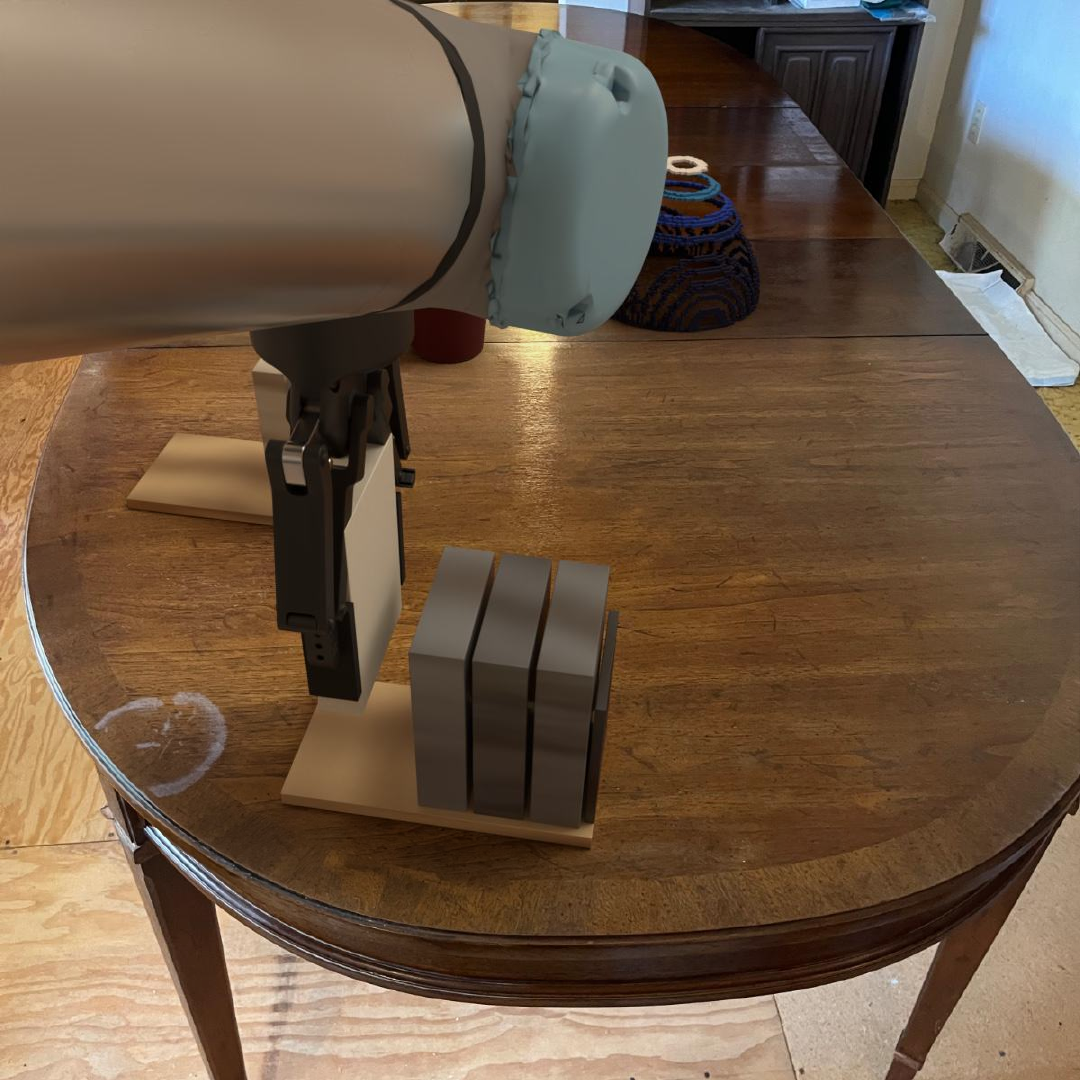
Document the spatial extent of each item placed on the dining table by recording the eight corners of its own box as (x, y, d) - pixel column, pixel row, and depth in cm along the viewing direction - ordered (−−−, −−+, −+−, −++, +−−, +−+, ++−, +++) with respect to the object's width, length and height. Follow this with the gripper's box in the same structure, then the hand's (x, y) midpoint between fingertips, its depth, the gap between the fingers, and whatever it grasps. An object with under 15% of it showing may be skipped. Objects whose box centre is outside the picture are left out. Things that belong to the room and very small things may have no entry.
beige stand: (353, 535, 85) (338, 383, 76) (128, 508, 87) (87, 357, 78) (386, 465, 93) (375, 319, 84) (178, 441, 95) (146, 296, 86)
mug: (397, 382, 104) (390, 277, 97) (362, 342, 110) (354, 240, 103) (505, 355, 109) (507, 253, 102) (467, 318, 114) (466, 219, 107)
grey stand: (591, 848, 63) (608, 685, 54) (281, 803, 65) (249, 638, 56) (607, 721, 71) (624, 561, 62) (330, 684, 73) (309, 523, 64)
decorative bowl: (555, 263, 126) (560, 140, 117) (706, 244, 132) (722, 126, 123) (622, 342, 112) (634, 208, 102) (788, 317, 117) (813, 188, 108)
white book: (362, 716, 59) (344, 532, 51) (318, 710, 59) (294, 525, 51) (402, 609, 66) (392, 432, 58) (363, 604, 66) (347, 427, 58)
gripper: (337, 396, 39) (373, 791, 52) (459, 186, 55) (462, 527, 69) (139, 374, 39) (227, 770, 53) (320, 173, 56) (350, 513, 70)
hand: (360, 632), depth 61 cm, fingers closed on white book, 9 cm apart
